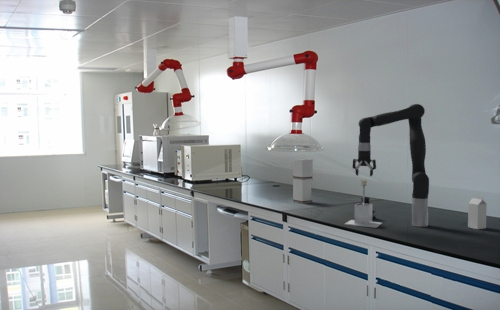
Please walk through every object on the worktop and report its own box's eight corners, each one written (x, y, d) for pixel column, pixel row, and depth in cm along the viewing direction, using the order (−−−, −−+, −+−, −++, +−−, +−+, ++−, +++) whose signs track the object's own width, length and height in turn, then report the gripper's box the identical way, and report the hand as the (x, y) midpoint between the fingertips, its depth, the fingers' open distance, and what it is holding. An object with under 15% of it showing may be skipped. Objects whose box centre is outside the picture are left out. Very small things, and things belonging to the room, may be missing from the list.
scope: (376, 198, 320) (363, 199, 317) (376, 219, 321) (362, 219, 318) (370, 196, 328) (357, 197, 325) (370, 216, 329) (357, 217, 326)
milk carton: (477, 229, 287) (478, 198, 286) (467, 227, 294) (468, 196, 293) (486, 228, 290) (487, 197, 289) (476, 226, 297) (477, 195, 296)
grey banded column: (312, 202, 389) (312, 159, 387) (302, 203, 383) (302, 159, 381) (303, 200, 398) (303, 158, 396) (293, 201, 392) (293, 159, 390)
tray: (381, 223, 306) (381, 222, 306) (376, 227, 293) (376, 226, 293) (350, 220, 315) (350, 219, 315) (344, 224, 303) (344, 223, 303)
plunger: (370, 206, 305) (371, 180, 304) (367, 208, 299) (368, 181, 298) (359, 205, 309) (359, 179, 307) (356, 207, 302) (356, 180, 301)
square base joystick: (372, 222, 306) (372, 203, 305) (368, 225, 298) (368, 206, 297) (358, 221, 310) (358, 202, 310) (354, 223, 302) (354, 204, 302)
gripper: (377, 149, 301) (376, 175, 302) (354, 149, 308) (354, 174, 309) (374, 150, 295) (374, 176, 296) (351, 150, 301) (351, 175, 302)
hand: (364, 175), depth 302 cm, fingers open, 8 cm apart
